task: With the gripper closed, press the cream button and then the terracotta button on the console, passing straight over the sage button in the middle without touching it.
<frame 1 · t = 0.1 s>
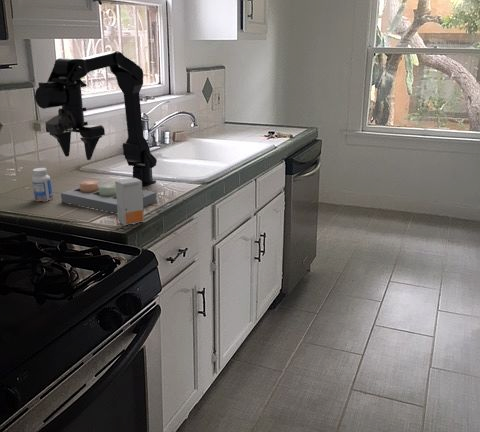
hand: (77, 158, 157), 15 cm above the countertop, fingers open, 9 cm apart
skincare box: (131, 223, 147), on the countertop
button terracotta: (89, 188, 167), point 3 cm above the countertop, slide at 0.0 cm
button cream: (128, 195, 159), point 3 cm above the countertop, slide at 0.0 cm
button sage: (108, 191, 163), point 3 cm above the countertop, slide at 0.0 cm
pill bottle: (44, 200, 167), on the countertop
console: (109, 202, 164), on the countertop
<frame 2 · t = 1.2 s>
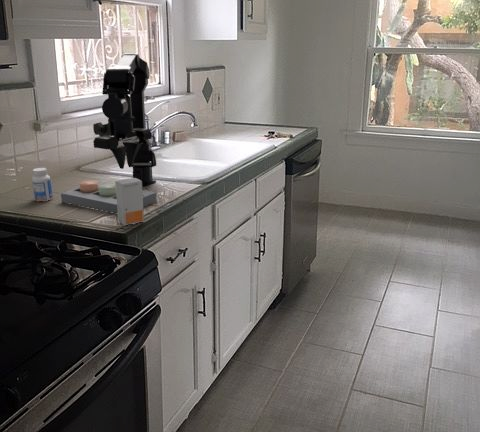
hand: (125, 167, 156), 12 cm above the countertop, fingers open, 3 cm apart
nothing on the countertop moved.
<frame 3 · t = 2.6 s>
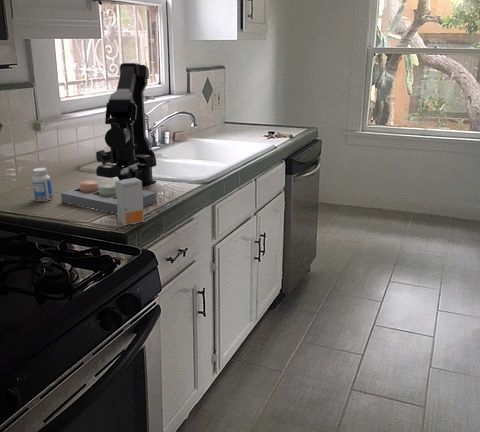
hand: (127, 193, 159), 4 cm above the countertop, fingers closed, pressing on button cream
button cream: (128, 198, 159), point 2 cm above the countertop, slide at -1.1 cm, touching gripper
everything else where it was.
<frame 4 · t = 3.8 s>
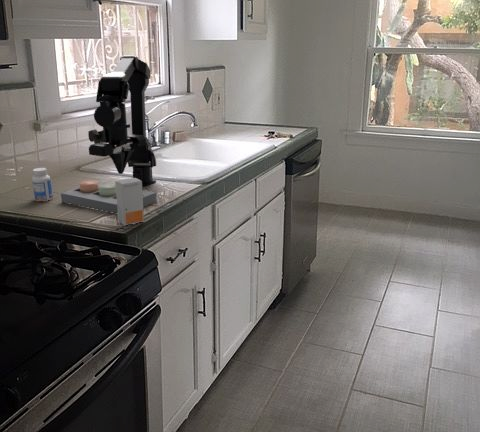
hand: (120, 173, 158), 10 cm above the countertop, fingers closed
button cream: (128, 199, 159), point 2 cm above the countertop, slide at -1.2 cm
everything else where it was.
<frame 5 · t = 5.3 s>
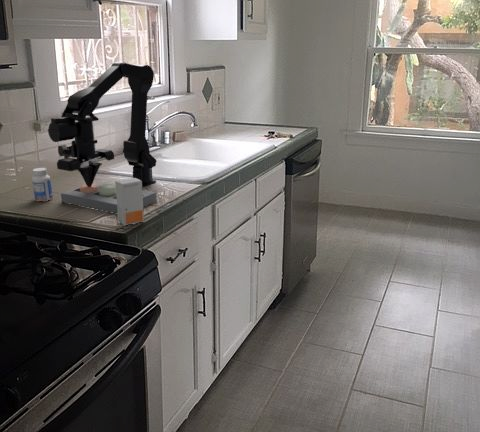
hand: (89, 186, 167), 4 cm above the countertop, fingers closed, pressing on button terracotta
button terracotta: (89, 191, 167), point 2 cm above the countertop, slide at -1.1 cm, touching gripper
everything else where it was.
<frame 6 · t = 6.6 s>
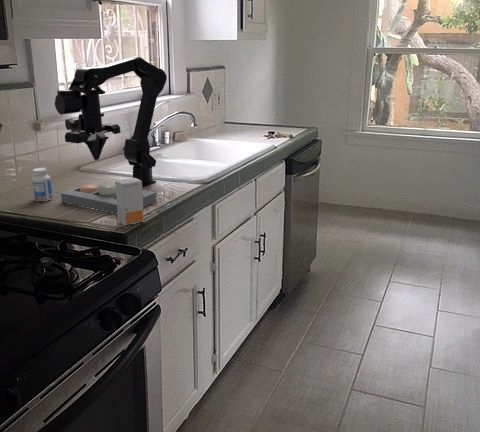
hand: (96, 159, 168), 11 cm above the countertop, fingers closed
button terracotta: (89, 191, 167), point 2 cm above the countertop, slide at -1.2 cm
everything else where it was.
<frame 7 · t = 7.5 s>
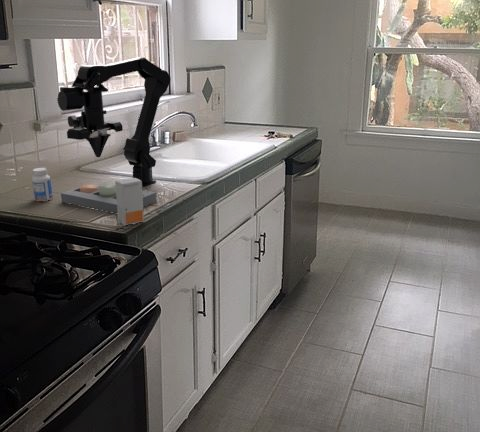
hand: (98, 157, 169), 12 cm above the countertop, fingers closed
nothing on the countertop moved.
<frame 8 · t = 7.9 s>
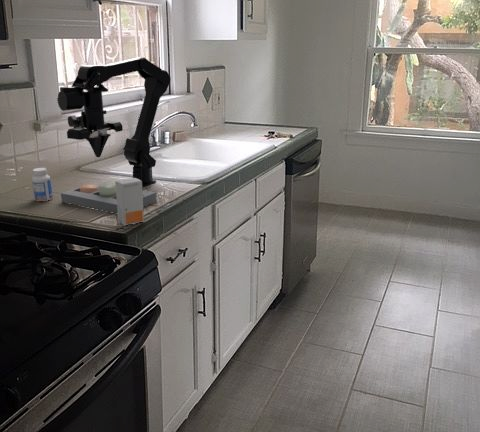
hand: (98, 157, 169), 12 cm above the countertop, fingers closed
nothing on the countertop moved.
at the end: button cream slide at -1.2 cm; button terracotta slide at -1.2 cm; button sage slide at 0.0 cm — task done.
